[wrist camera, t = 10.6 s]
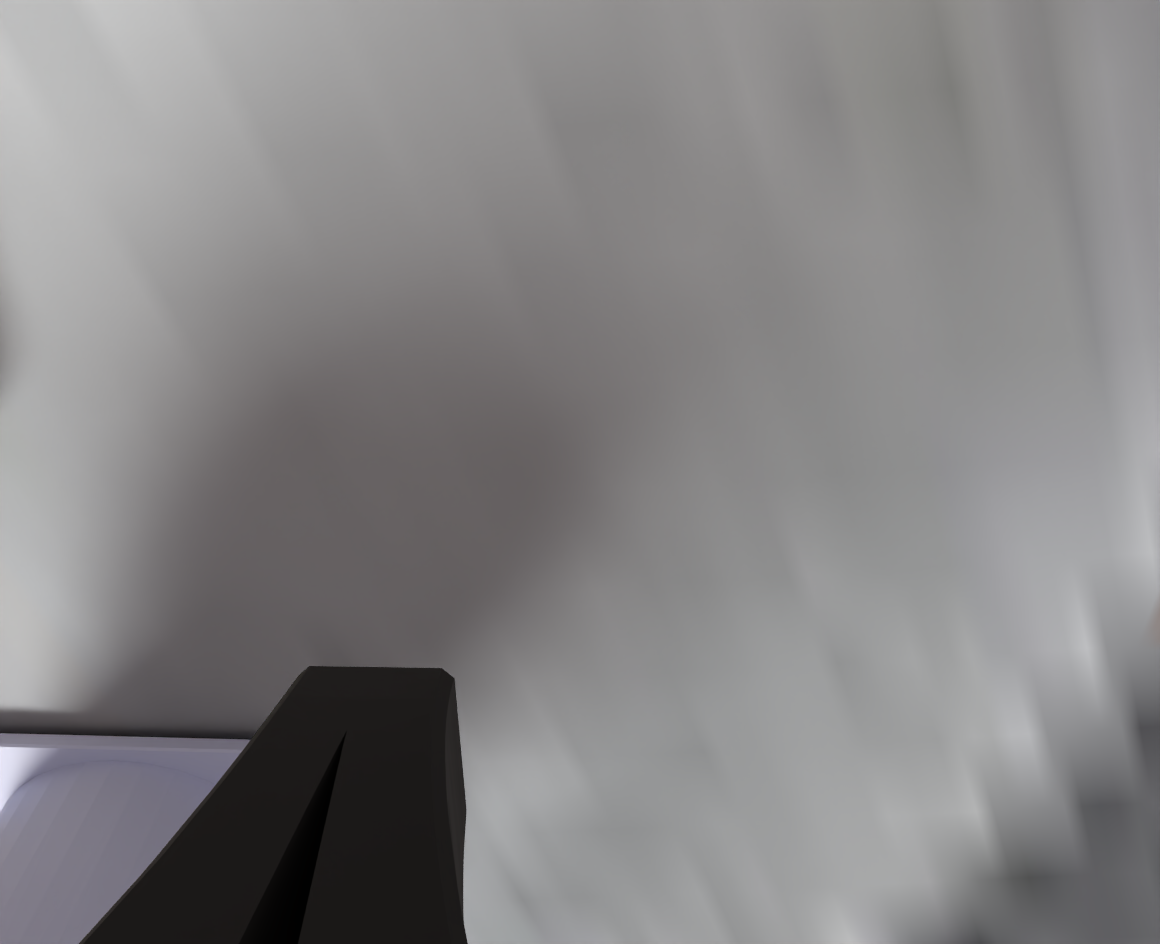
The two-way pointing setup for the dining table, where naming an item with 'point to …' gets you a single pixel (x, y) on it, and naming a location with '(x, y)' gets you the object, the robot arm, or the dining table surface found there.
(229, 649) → the dining table surface
